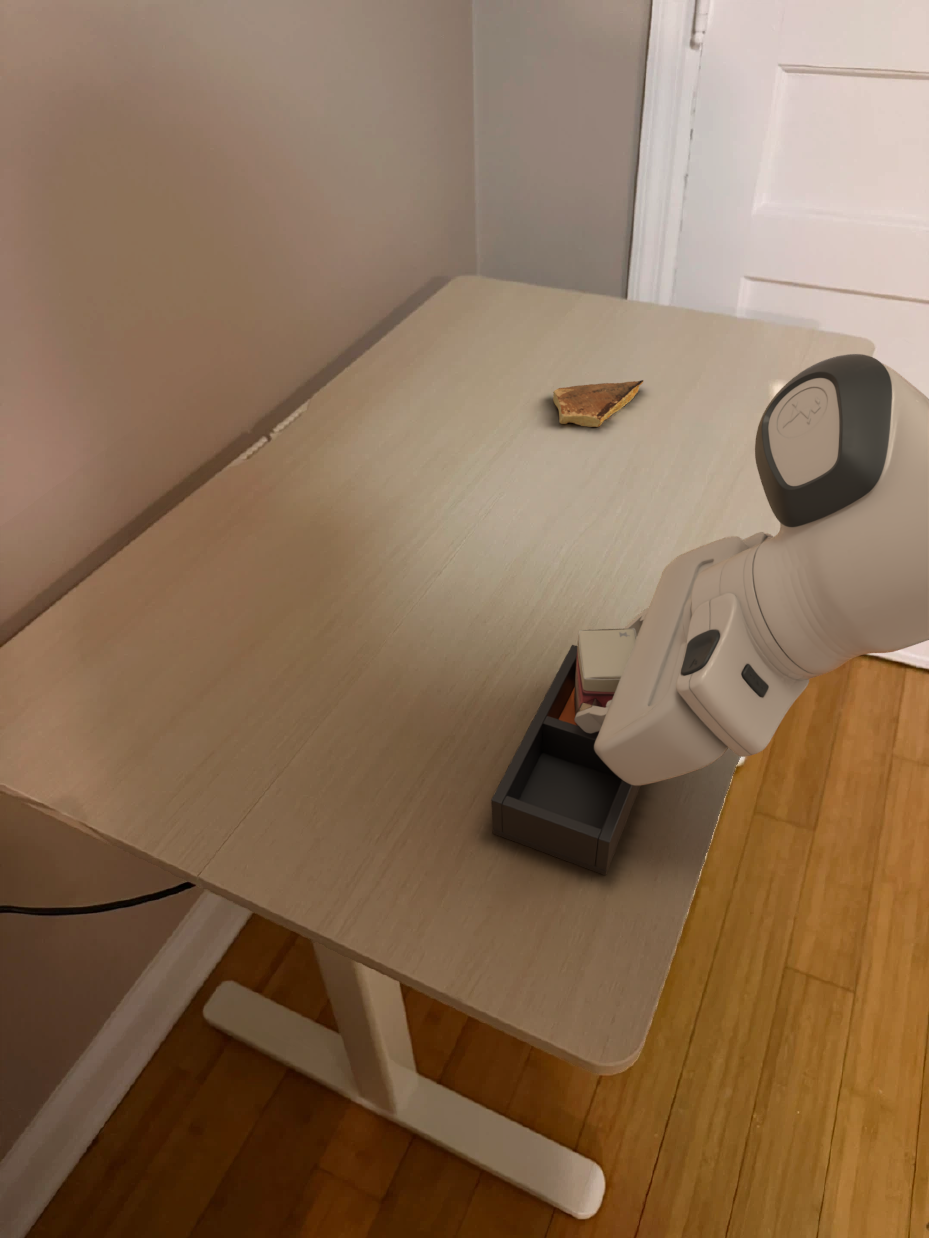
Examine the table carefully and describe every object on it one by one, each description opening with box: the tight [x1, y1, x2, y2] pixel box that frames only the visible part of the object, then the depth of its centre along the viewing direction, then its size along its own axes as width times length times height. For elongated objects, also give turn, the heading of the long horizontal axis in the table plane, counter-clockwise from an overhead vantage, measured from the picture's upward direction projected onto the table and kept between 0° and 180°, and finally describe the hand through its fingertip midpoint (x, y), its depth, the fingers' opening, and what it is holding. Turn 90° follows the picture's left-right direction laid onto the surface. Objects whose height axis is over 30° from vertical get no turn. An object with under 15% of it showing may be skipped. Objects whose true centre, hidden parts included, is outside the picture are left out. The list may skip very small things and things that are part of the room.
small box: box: [574, 628, 637, 732], centre depth 66 cm, size 5×4×8 cm
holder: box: [490, 644, 641, 876], centre depth 65 cm, size 8×16×4 cm, turn 155°
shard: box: [552, 379, 644, 428], centre depth 103 cm, size 11×8×2 cm
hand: (597, 683), depth 66 cm, fingers closed on small box, 6 cm apart
